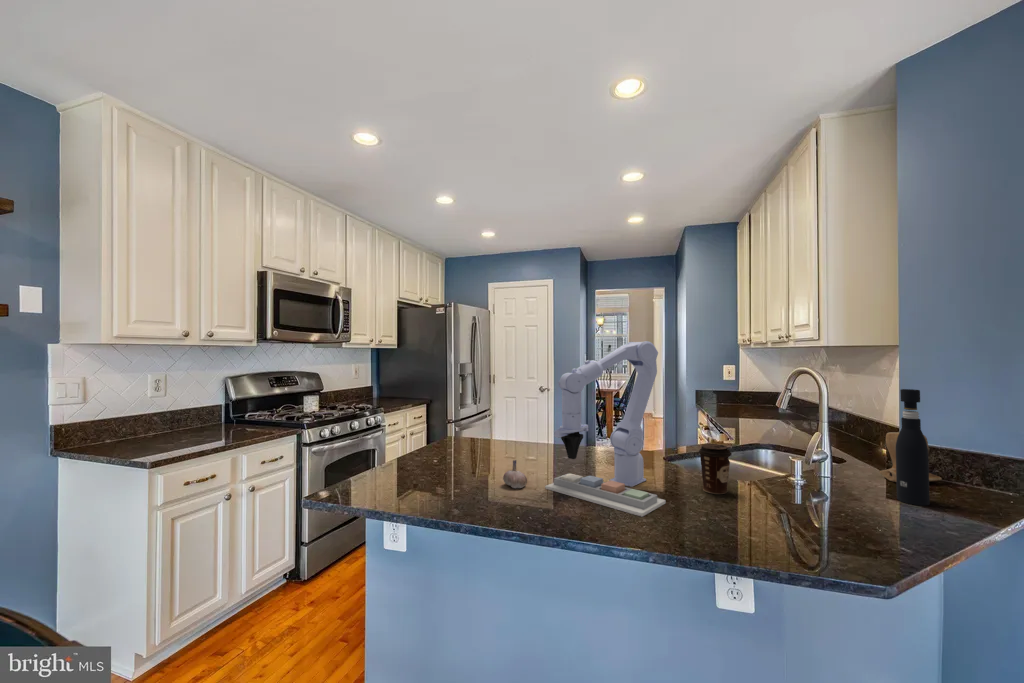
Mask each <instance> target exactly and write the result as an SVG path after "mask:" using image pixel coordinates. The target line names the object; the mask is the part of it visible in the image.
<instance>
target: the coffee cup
mask: <svg viewBox="0 0 1024 683" xmlns="http://www.w3.org/2000/svg"><path fill="white" fill-rule="evenodd" d="M698 454H699V456H700V467H701V478H702V490H703V492H706V493H709V494H714V495H723V494H727V493H728V482H729V476H730V465H731V461H730V459H729V457H731V456H732V452H731V450H730V449H729V447H728V446H726V445H724V444H717V443H716V444H715V443H706V444H705V443H704V444H702V445H701V448H700V449H699V450H698Z"/></svg>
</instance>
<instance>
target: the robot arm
mask: <svg viewBox="0 0 1024 683" xmlns="http://www.w3.org/2000/svg"><path fill="white" fill-rule="evenodd" d="M658 355H659V352H658V349H657V348H656V346H655V344H654V343H653V342H651V341H649V340H645V341H629V342H627V343H626V344H622V345H620V346H619V347H618V348H616V349H615V350H613V351H612V352H610V353H608V354H606V355H605V356H603V357H602V358H600V359H598V360H593V359H592V360H590V359H587V360H585V361H584V364H582V365H580V366H579V367H577V368H576V367H574V368H572V369H571V372H566V373H563V374H562V375H561V377H560V378H559V381H558V382H557V383H558V387H559V389H560V390H561V425H560V426H559V428H557V429H554V430H553V435H554V436H553V438H557V439H560V440H561V441H562V442H563V444H564V447H565V451H566V455H567V458H568V459H570V460H576V459H577V456H578V452H579V450H580V449H579V448H580V445H581V443H582V440H583V439H584V434H583V433H584V432H589V424H584V423H582V391H583V390H584V388H585V387H586V386H587V385H589V384H590V383H592V382H594V381H596V380H597V379H599V378H600V377H602V376H603V372H604V371H605V370H607V369H609V368H611V367H612V366H614V365H616V364H619V363H621V362H623V361H624V360H625V361H626V360H627V361H628V362H629V364H631V365H632V367H633V368H634V369H635V370H636V373H637V375H636V378H635V381H634V383H633V387H632V390H631V394H630V397H629V400H628V403H627V407H626V410H625V412H624V415H623V418H622V420H621V421H619V422H618V423H617V425H616V427H615V429H614V430H613V432H611V434H610V438H609V441H610V444H611V446H612V447H613V451H614V452H613V454H614V457H613V458H614V461H613V462H614V477H613V478H611V479H608V481H610V480H611V481H615V482H619V483H624V484H625V487H629V488H630V487H631V488H632V487H635V486H637V485H639V484H641V483H644V482H646V481H647V478H644V472H645V471H644V470H645V469H644V457H643V455H642V454H641V453H640V452H641V451H642V449H643V446H644V443H643V441H644V440H643V439H644V438H643V437H644V431H643V429H642V427H641V425H642V421H643V418H644V415H645V412H646V410H647V406H648V402H649V400H650V396H651V393H652V391H653V390H652V389H653V387H654V384H655V380H656V377H657V374H658V367H657V366H658V364H657V358H658ZM582 432H583V433H582Z"/></svg>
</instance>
